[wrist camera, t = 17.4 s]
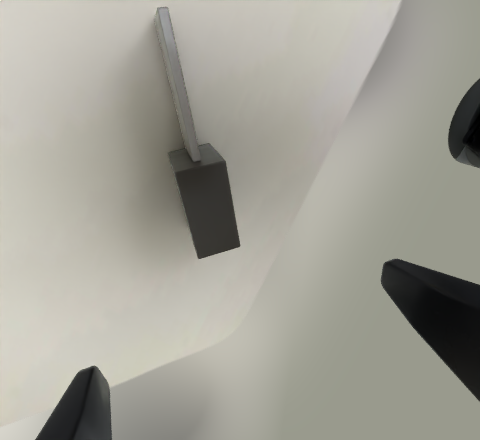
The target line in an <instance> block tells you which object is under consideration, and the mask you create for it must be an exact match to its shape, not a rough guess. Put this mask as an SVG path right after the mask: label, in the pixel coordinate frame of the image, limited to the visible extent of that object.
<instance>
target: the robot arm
mask: <svg viewBox="0 0 480 440" xmlns="http://www.w3.org/2000/svg"><path fill="white" fill-rule="evenodd" d="M462 144H463V145H464V146H466V147H467V148H468V149H469V150H471V151H472V152H473V153H475V154H476V155H477V156H479V157H480V115H479V116H478V118H477V119H476V120H475V122H474V123H473V125H472V126H471V127H470V129H469V130H468V132H467V133H466V134H465V136H464V137H463V140H462ZM381 284H382V286H383V288H384V290H385V291H386V292H387V294H388V295H389V296H390V298H391V299H392V300H393V302H394V303H395V304H396V306H397V307H398V308H399V309H400V311H401V312H402V314H403V315H404V316H405V318H406V319H407V320H408V321H409V323H410V324H411V325H412V327H413V328H414V329H415V330H416V331H417V333H418V334H419V335H420V336H421V337H422V338H423V339H424V340H425V341H426V343H427V344H428V345H429V346H430V347H431V348H432V349H433V350H434V351H435V352H436V354H437V355H438V356H439V357H440V358H441V359H442V360H443V361H444V363H445V364H446V365H447V366H448V367H449V368H450V369H451V370H452V371H453V372H454V374H455V375H456V376H457V377H458V378H459V379H460V380H461V381H462V383H464V385H465V386H466V387H467V388H468V389H469V390H470V391H471V392H472V394H473V395H474V396H475V397H476V398H477V399H478V400H479V401H480V285H478V284H475V283H472V282H468V281H465V280H462V279H459V278H456V277H453V276H450V275H447V274H444V273H441V272H437V271H434V270H431V269H428V268H425V267H422V266H418V265H415V264H412V263H409V262H406V261H403V260H400V259H392V260H390V261H387V262H385V263H384V265H383V269H382V276H381ZM35 440H112V430H111V409H110V389H109V384H108V382H107V380H106V379H105V377H104V376H103V374H102V373H101V371H100V370H99V369H98V367H96V366H91V367H89V368H86V369H83V370H81V371H79V372H78V373H77V374H76V376H75V377H74V379H73V381H72V382H71V384H70V385H69V387H68V389H67V390H66V392H65V393H64V395H63V396H62V398H61V400H60V401H59V403H58V404H57V406H56V408H55V409H54V411H53V413H52V414H51V416H50V417H49V419H48V420H47V422H46V423H45V425H44V427H43V428H42V430H41V432H40V433H39V435H38V436H37V438H36V439H35Z"/></svg>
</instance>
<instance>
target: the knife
mask: <svg viewBox="0 0 480 440" xmlns="http://www.w3.org/2000/svg"><path fill="white" fill-rule="evenodd" d="M154 22H155V26H156V30H157V34H158V38H159V42H160V46H161V50H162V54H163V58H164V63H165V67H166V71H167V75H168V79H169V83H170V87H171V91H172V95H173V99H174V103H175V108H176V112H177V116H178V120H179V124H180V128H181V132H182V136H183V140H184V144H185V148H186V149H182V150H177V151H173V152H169V153H168V155H169V159H170V163H171V166H172V170H173V173H174V177H175V180H176V184H177V188H178V191H179V195H180V198H181V202H182V206H183V209H184V213H185V216H186V220H187V224H188V227H189V230H190V234H191V237H192V240H193V244H194V247H195V250H196V253H197V257H198V259H201V258H205V257H208V256H211V255H214V254H218V253H221V252H224V251H228V250H231V249H234V248H237V247H240V241H239V236H238V230H237V224H236V218H235V213H234V207H233V201H232V196H231V190H230V184H229V178H228V173H227V167H226V161H225V160H224V159H223V158H222V157H221V156H220V155H219V153H218V152H217V151H216V150H215V149H214V148H213V147H212V146H211V145H210V144H209V143H208V144H204V145H200V146H198V143H197V138H196V134H195V129H194V125H193V120H192V116H191V111H190V107H189V102H188V97H187V93H186V88H185V84H184V79H183V75H182V70H181V66H180V61H179V57H178V52H177V47H176V43H175V38H174V34H173V29H172V25H171V20H170V16H169V11H168V8H167V7H160V8H157V11H156V14H155V18H154Z"/></svg>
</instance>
